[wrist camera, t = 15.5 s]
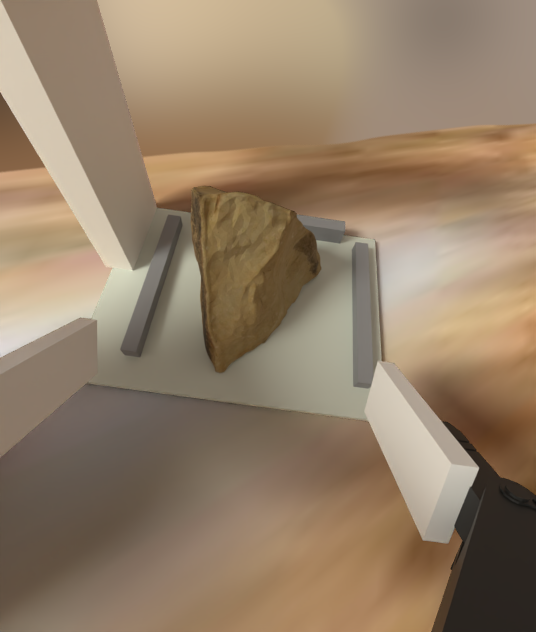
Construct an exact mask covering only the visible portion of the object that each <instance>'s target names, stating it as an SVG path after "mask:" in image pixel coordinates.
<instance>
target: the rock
mask: <svg viewBox="0 0 536 632" xmlns="http://www.w3.org/2000/svg"><path fill="white" fill-rule="evenodd" d="M191 231H192V242H193V247H194V253H195V257H196V260H197V262H198V266H199V271H200V275H201V287H200V304H201V313H202V325H203V336H204V342H205V348H206V352H207V354H208V356H209V358H210V360H211V362H212V363H213V365H214V368H215V371H216V372H219V373H223V372H224V371H226V369H227V367H228V366H229V365H230V364H231V363H232V362H234V361H235V360H237V359H238V358H240V357H242V356H243V355H244V354H245V353H247V352H250V351H252V350H254V349H255V348H256V347H257V346H259V345H260V344H261V343H265V342H266V340H267V339H268V337H269V336H270V335H271V333H272V332H273V331H274V330H275V329H276V328H278V327H279V325H280V324H281V321H282V320H283V318H284V317H285V316H286V314H287V310H288V309H289V308H290V306H291V304H292V303H294V302H295V301H296V299H297V297H298V295H299V293H300V291H301V289H302V287H303V286H304V285H305V284H307V283H308V282H309V281H311V280H312V279H313V278H315V277H316V276H317V275H318V274H319V272H320V270H321V264H320V260H321V259H320V255H319V253H318V251H317V242H316V239H315V236H314V234H313V233H312V232H311V231H309V230H308V229H306V228H305V227H304V226H303V224H302V222H301V221H299V219H298V218H297V213H295V212H294V211H292V210H289V209H286V208H284V207H282V206H279V205H276V204H274V203H271V202H267V201H264V200H262V199H261V198H260V197H258V196H255V195H252V194H248V193H243V192H230V193H228V192H224V191H221V190H219V189H216V188H213V187H211V186H200V187H194V188H192V206H191Z"/></svg>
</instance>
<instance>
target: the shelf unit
mask: <svg viewBox="0 0 536 632" xmlns="http://www.w3.org/2000/svg"><path fill="white" fill-rule="evenodd" d="M0 92H1V94H2V95H3V97H4V99H5V100H6V102H7V104H8V105H9V107H10V109H11V110H12V112H13V114H14V115H15V117H16V118H17V120H18V122H19V124H20V125H21V127H22V128H23V130H24V132H25V133H26V135H27V137H28V138H29V140H30V142H31V143H32V145H33V147H34V148H35V150H36V152H37V153H38V155H39V157H40V158H41V160H42V162H43V163H44V165H45V167H46V168H47V170H48V172H49V173H50V175H51V177H52V178H53V180H54V182H55V183H56V185H57V187H58V188H59V190H60V191H61V193H62V195H63V196H64V198H65V200H66V201H67V203H68V205H69V206H70V208H71V210H72V211H73V213H74V215H75V216H76V218H77V220H78V221H79V223H80V225H81V226H82V228H83V230H84V231H85V233H86V235H87V236H88V238H89V240H90V241H91V243H92V244H93V246H94V248H95V249H96V251H97V253H98V254H99V256H100V258H101V259H102V261H103V263H104V264H105V266H106V267H111V268H112V271H111V273H110V275H109V278H108V280H107V283H106V285H105V287H104V290H103V292H102V294H101V297H100V299H99V301H98V304H97V306H96V309H95V311H94V313H93V316H92V318H91V319H94V320H97V365H98V374H97V375H95V376H94V377H93V378H92V379H91V380H90V381H89V382H87V384H94V385H102V386H109V387H116V388H124V389H131V390H139V391H146V392H153V393H161V394H168V395H175V396H183V397H190V398H198V399H205V400H212V401H220V402H227V403H235V404H242V405H249V406H257V407H264V408H272V409H279V410H286V411H294V412H301V413H308V414H316V415H323V416H331V417H338V418H345V419H353V420H360V421H368V419H367V417H366V414H365V412H364V411H365V407H366V403H367V399H368V396H369V392H370V388H371V384H372V381H373V377H374V373H375V369H376V366H377V362H378V361H382V360H381V341H380V323H379V304H378V286H377V267H376V249H375V239H368V238H361V237H354V236H347V235H344V233H345V222H344V221H337V220H331V219H324V218H317V217H310V216H304V215H297V218H298V219H299V221H301V222H302V224H303V226H304V227H305V228H306V229H308V230H309V231H311V232H312V233H313V234H314V236H315V239H316V242H317V251H318V253H319V255H320V259H321V260H320V264H321V270H320V272H319V274H318V275H317V276H316V277H315V278H313V279H312V280H311V281H309V282H308V283H307V284H305V285H304V286H303V287H302V289H301V291H300V293H299V295H298V297H297V299H296V301H295V302H294V303H292V304H291V306H290V308H289V309H288V310H287V314H286V316H285V317H284V318H283V320H282V321H281V324H280V325H279V327H278V328H276V329H275V330H274V331H273V332H272V333H271V335H270V336H269V337H268V339H267V340H266V342H265V343H261V344H260V345H259V346H257V347H256V348H255V349H254V350H252V351H250V352H247V353H245V354H244V355H243V356H242V357H240V358H238V359H237V360H235V361H234V362H232V363H231V364H230V365H229V366H228V367H227V369H226V371H224V372H223V373H219V372H216V371H215V368H214V365H213V363H212V362H211V360H210V358H209V356H208V354H207V352H206V348H205V342H204V336H203V325H202V313H201V304H200V287H201V275H200V271H199V266H198V262H197V260H196V257H195V253H194V247H193V242H192V231H191V213H190V212H183V211H177V210H170V209H163V208H157V205H156V202H155V199H154V195H153V192H152V188H151V185H150V181H149V178H148V175H147V171H146V168H145V164H144V161H143V157H142V154H141V150H140V147H139V144H138V140H137V137H136V134H135V130H134V126H133V123H132V120H131V116H130V113H129V109H128V106H127V102H126V99H125V95H124V92H123V89H122V85H121V82H120V78H119V75H118V72H117V68H116V65H115V61H114V58H113V54H112V51H111V47H110V44H109V40H108V37H107V34H106V30H105V27H104V23H103V20H102V17H101V13H100V10H99V6H98V3H97V0H0ZM368 422H369V421H368Z"/></svg>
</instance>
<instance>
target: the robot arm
mask: <svg viewBox="0 0 536 632" xmlns="http://www.w3.org/2000/svg"><path fill="white" fill-rule="evenodd" d="M97 374H98V365H97V320H94V319H87V318H79V319H77V320H75V321H73V322H71V323H69V324H67V325H65V326H63V327H61V328H59V329H57V330H55V331H53V332H51V333H49V334H47V335H45V336H43V337H41V338H39V339H37V340H35V341H33V342H31V343H29V344H27V345H25V346H23V347H21V348H19V349H17V350H15V351H13V352H11V353H9V354H7V355H5V356H3V357H1V358H0V458H1V457H2V456H3V455H4V454H5V453H6V452H8V451H9V450H10V449H11V448H12V447H13V446H15V445H16V444H17V443H18V442H19V441H20V440H21V439H23V438H24V437H25V436H26V435H27V434H28V433H30V432H31V431H32V430H33V429H34V428H35V427H36V426H38V425H39V424H40V423H41V422H42V421H43V420H45V419H46V418H47V417H48V416H49V415H50V414H52V413H53V412H54V411H55V410H56V409H57V408H58V407H60V406H61V405H62V404H63V403H64V402H65V401H67V400H68V399H69V398H70V397H71V396H72V395H73V394H75V393H76V392H77V391H78V390H79V389H80V388H82V387H83V386H84V385H85V384H86V383H87V382H89V381H90V380H91V379H92V378H93V377H94V376H95V375H97ZM364 412H365V414H366V417H367V419H368V421H369V423H370V425H371V428H372V430H373V432H374V434H375V436H376V439H377V441H378V443H379V445H380V447H381V450H382V452H383V454H384V456H385V458H386V460H387V463H388V465H389V467H390V469H391V471H392V474H393V476H394V478H395V480H396V482H397V485H398V487H399V489H400V491H401V493H402V496H403V498H404V500H405V502H406V504H407V507H408V509H409V511H410V513H411V515H412V518H413V520H414V522H415V524H416V526H417V529H418V531H419V533H420V535H421V537H422V540H425V541H432V542H440V543H447V544H448V543H449V541H450V538H451V536H452V533H453V531H454V528H456V530H457V532H458V534H459V535H460V537H461V539H462V543H461V545H460V548H459V550H458V553H457V555H456V557H455V560H454V562H453V564H452V567H451V570H452V571H451V574H450V577H449V580H448V583H447V586H446V589H445V592H444V595H443V598H442V601H441V604H440V607H439V610H438V613H437V616H436V619H435V622H434V625H433V628H432V631H431V632H536V496H535V495H534V494H533V493H532V492H531V491H529V490H528V489H526V488H525V487H523V486H521V485H520V484H518V483H516V482H513V481H511V480H508V479H505V478H500V477H499V475H498V474H497V473H496V472H495V471H494V470H493V469H492V467H491V466H490V465H489V464H488V463H487V462H486V460H485V459H484V458H483V457H482V456H481V455H480V454H479V452H476V449H475V448H474V447H473V445H472V444H470V443H469V441H468V440H467V438H466V437H465V436H464V435H463V434H462V433H461V432H460V431H459V430H458V429H456V428H455V427H454V426H452V425H451V424H449V423H448V422H443V421H441V420H440V419H439V418H438V417H437V415H436V414H435V413H434V412H433V410H432V409H431V408H430V407H429V406H428V404H427V403H426V402H425V401H424V399H423V398H422V397H421V396H420V394H419V393H418V392H417V391H416V390H415V388H414V387H413V386H412V385H411V383H410V382H409V381H408V380H407V379H406V377H405V376H404V375H403V374H402V372H401V371H400V370H399V369H398V367H397V366H396V365H395V364H394V363H390V362H383V361H378V362H377V366H376V369H375V373H374V377H373V381H372V384H371V388H370V392H369V396H368V399H367V403H366V407H365V411H364Z"/></svg>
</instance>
